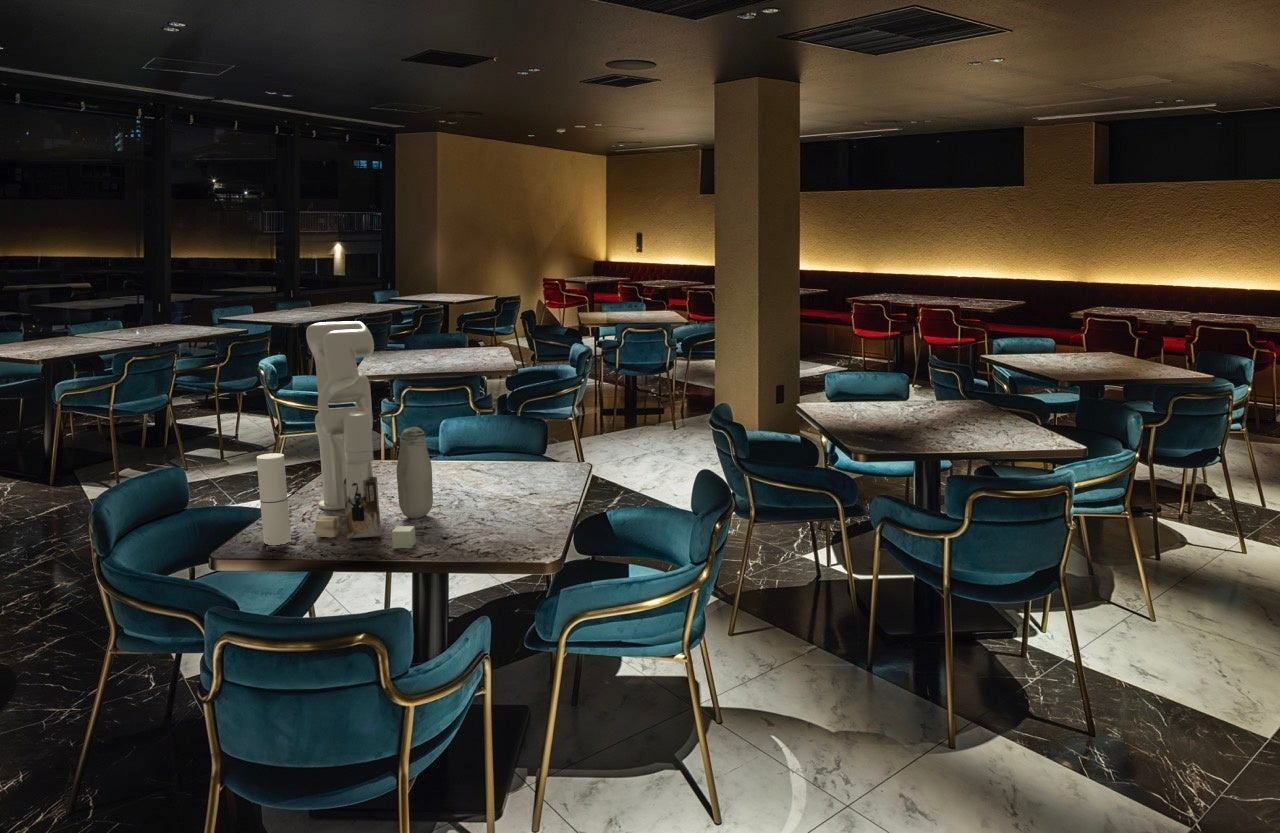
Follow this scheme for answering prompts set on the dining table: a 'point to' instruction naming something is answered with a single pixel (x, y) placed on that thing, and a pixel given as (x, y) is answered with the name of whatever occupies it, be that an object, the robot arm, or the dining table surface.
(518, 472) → the dining table surface
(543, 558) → the dining table surface
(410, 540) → the sage block
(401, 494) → the grey bottle
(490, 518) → the dining table surface
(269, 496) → the cylindrical container
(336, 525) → the birch block
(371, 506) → the coffee box
